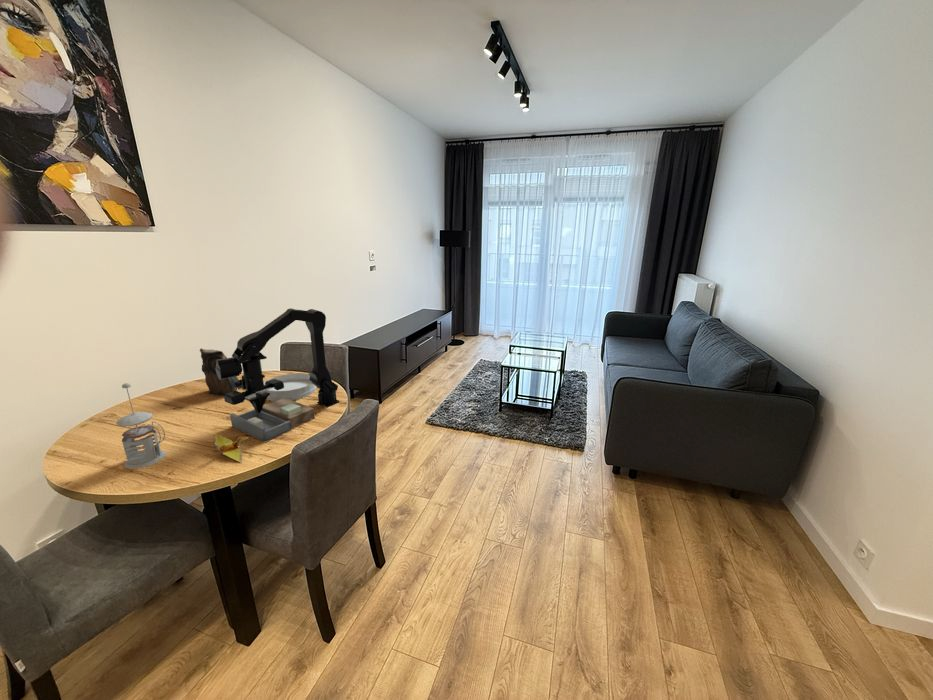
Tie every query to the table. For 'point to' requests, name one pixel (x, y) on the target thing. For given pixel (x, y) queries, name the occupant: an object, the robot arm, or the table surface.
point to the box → (264, 433)
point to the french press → (129, 443)
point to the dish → (292, 387)
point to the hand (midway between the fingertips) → (258, 412)
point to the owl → (210, 373)
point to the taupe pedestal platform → (295, 419)
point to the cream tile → (256, 421)
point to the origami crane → (229, 447)
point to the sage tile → (290, 409)
